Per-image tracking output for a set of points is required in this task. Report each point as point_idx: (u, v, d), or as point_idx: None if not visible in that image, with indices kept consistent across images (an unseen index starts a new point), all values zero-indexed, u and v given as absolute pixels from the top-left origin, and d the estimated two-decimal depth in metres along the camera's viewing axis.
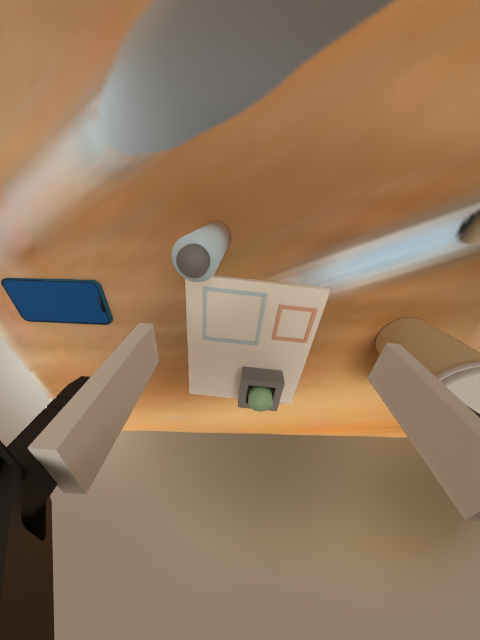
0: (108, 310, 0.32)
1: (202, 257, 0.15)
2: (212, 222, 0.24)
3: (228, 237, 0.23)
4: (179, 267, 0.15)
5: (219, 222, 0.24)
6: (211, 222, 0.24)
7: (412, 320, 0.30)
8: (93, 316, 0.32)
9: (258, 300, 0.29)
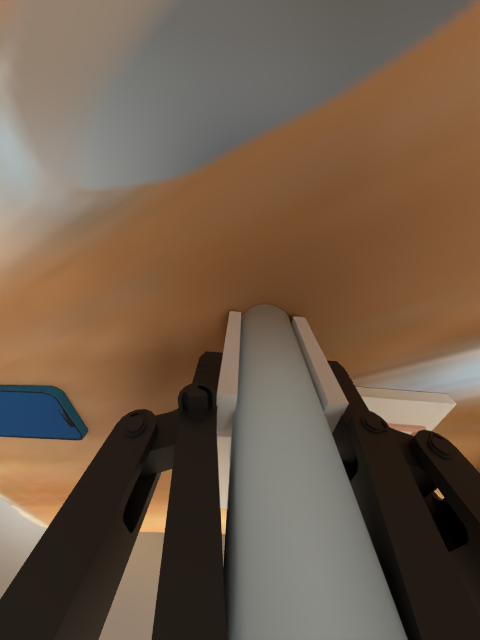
0: (79, 423, 0.20)
1: None
2: (263, 315, 0.12)
3: None
4: None
5: (274, 310, 0.13)
6: (260, 313, 0.12)
7: None
8: (56, 431, 0.20)
9: None
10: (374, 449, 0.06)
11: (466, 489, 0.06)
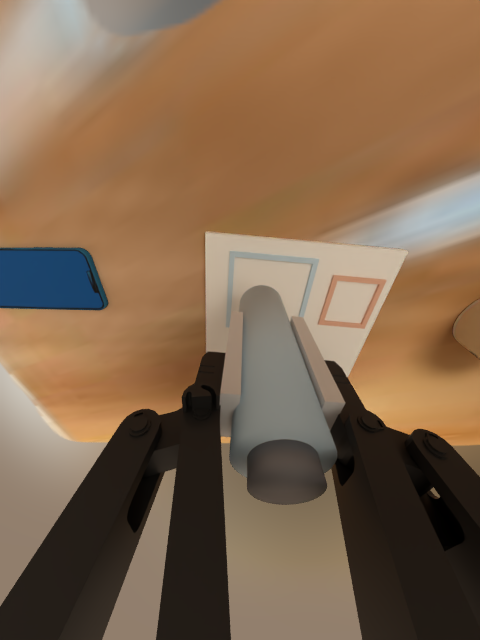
0: (102, 290, 0.24)
1: (313, 482, 0.06)
2: (259, 292, 0.15)
3: None
4: (252, 492, 0.06)
5: (268, 289, 0.16)
6: (257, 291, 0.15)
7: None
8: (82, 299, 0.24)
9: (305, 269, 0.21)
10: (370, 448, 0.06)
11: (462, 488, 0.06)
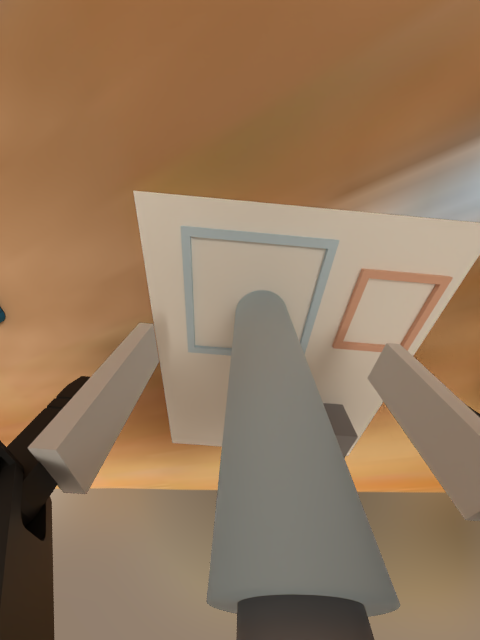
0: None
1: None
2: (259, 299, 0.12)
3: None
4: None
5: (270, 295, 0.13)
6: (256, 298, 0.12)
7: None
8: None
9: (313, 259, 0.12)
10: None
11: None
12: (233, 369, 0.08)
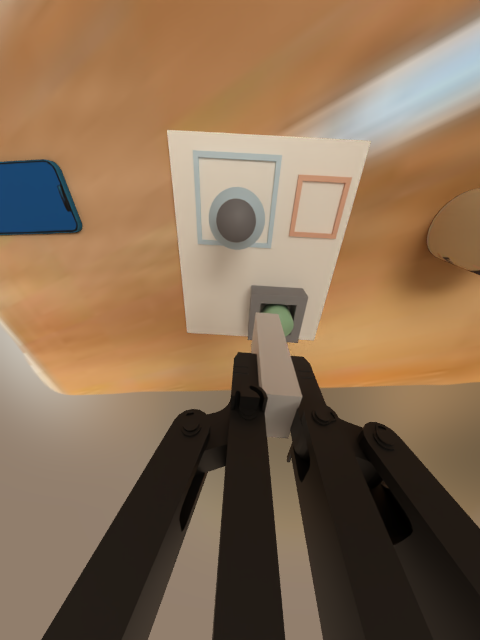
0: (74, 209, 0.24)
1: (248, 213, 0.12)
2: None
3: None
4: (220, 229, 0.13)
5: None
6: None
7: None
8: (56, 219, 0.25)
9: (269, 169, 0.21)
10: (323, 442, 0.06)
11: (408, 479, 0.06)
12: None
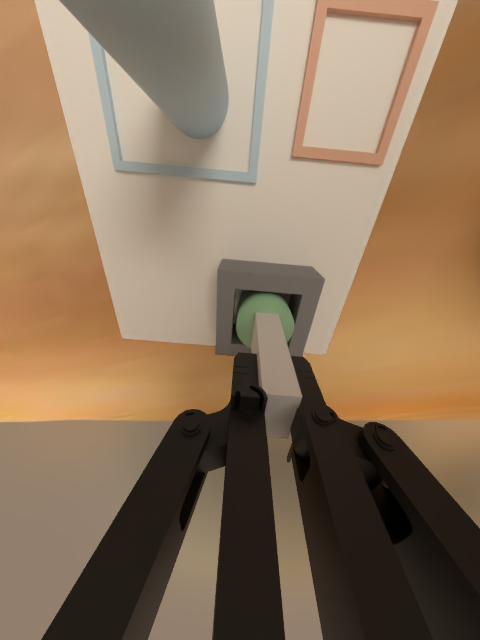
0: None
1: None
2: None
3: (221, 49, 0.08)
4: None
5: None
6: None
7: None
8: None
9: None
10: (323, 442, 0.06)
11: (408, 479, 0.06)
12: None
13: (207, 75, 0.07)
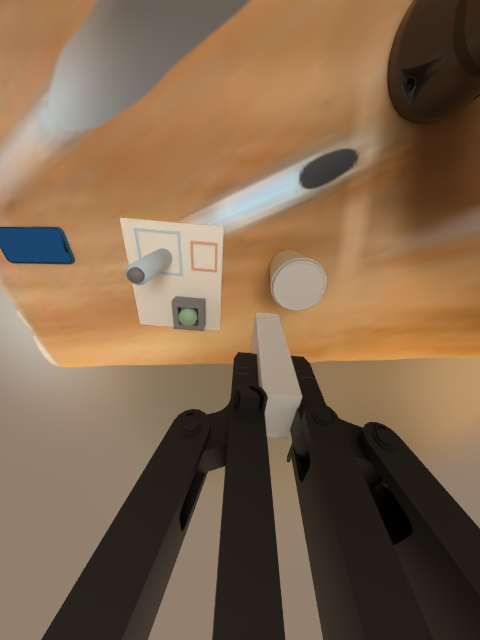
0: (70, 251, 0.43)
1: (138, 273, 0.31)
2: (158, 249, 0.40)
3: (166, 258, 0.40)
4: (129, 278, 0.32)
5: (163, 249, 0.41)
6: None
7: (287, 250, 0.41)
8: (59, 256, 0.44)
9: (175, 237, 0.41)
10: (323, 442, 0.06)
11: (408, 479, 0.06)
12: None
13: (162, 269, 0.39)
